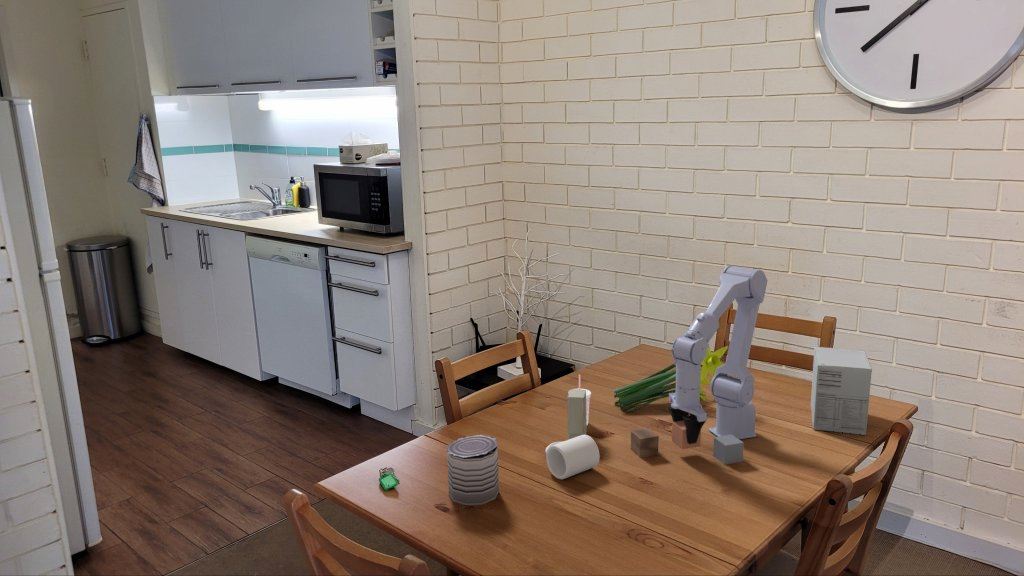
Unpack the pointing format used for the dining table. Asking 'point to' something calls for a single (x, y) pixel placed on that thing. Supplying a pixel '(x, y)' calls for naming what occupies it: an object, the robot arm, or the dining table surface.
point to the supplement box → (840, 390)
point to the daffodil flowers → (664, 383)
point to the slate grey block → (728, 449)
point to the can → (473, 470)
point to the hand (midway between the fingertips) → (686, 438)
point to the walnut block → (644, 442)
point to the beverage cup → (586, 400)
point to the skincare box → (576, 413)
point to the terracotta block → (682, 436)
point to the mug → (572, 456)
